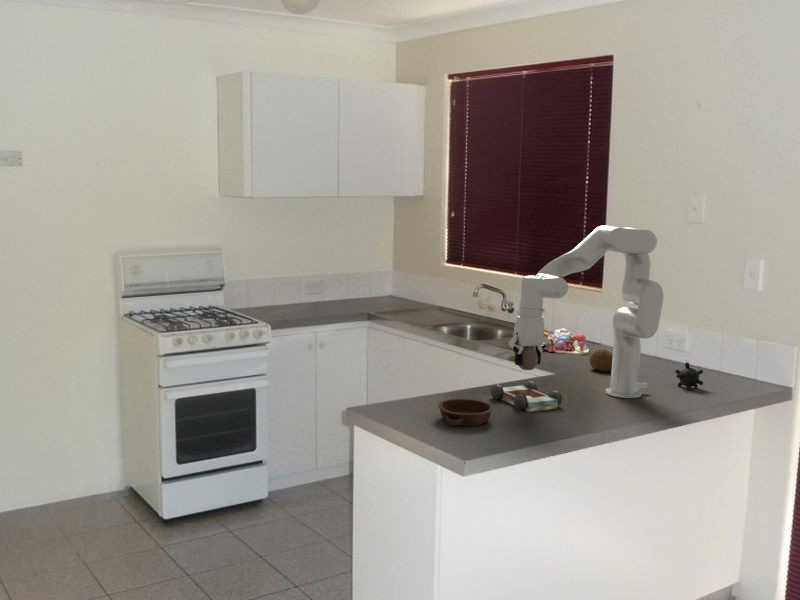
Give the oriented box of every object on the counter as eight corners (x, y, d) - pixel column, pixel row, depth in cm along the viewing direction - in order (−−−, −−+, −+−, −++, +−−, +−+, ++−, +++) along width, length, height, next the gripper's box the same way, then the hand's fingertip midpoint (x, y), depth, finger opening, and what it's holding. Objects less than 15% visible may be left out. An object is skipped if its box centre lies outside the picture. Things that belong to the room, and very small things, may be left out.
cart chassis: (527, 393, 310) (528, 379, 309) (562, 407, 292) (563, 393, 291) (489, 397, 302) (490, 383, 302) (523, 412, 285) (524, 397, 284)
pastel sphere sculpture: (535, 353, 382) (537, 332, 380) (530, 342, 405) (531, 323, 403) (593, 355, 381) (594, 335, 379) (584, 345, 404) (585, 325, 403)
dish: (423, 424, 268) (424, 408, 267) (456, 408, 287) (456, 393, 286) (475, 434, 260) (475, 418, 259) (504, 417, 278) (505, 402, 278)
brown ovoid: (521, 365, 300) (523, 340, 299) (540, 368, 297) (542, 343, 295) (513, 369, 294) (515, 343, 293) (532, 372, 291) (534, 346, 290)
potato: (611, 375, 343) (613, 353, 342) (584, 370, 351) (586, 348, 349) (621, 372, 349) (623, 351, 348) (594, 367, 357) (596, 346, 356)
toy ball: (694, 386, 317) (667, 373, 324) (696, 400, 325) (669, 387, 332) (709, 366, 320) (681, 353, 327) (710, 381, 328) (683, 368, 335)
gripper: (544, 310, 300) (541, 360, 303) (503, 311, 292) (499, 363, 295) (558, 313, 293) (554, 365, 296) (516, 315, 285) (512, 368, 288)
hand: (527, 363), depth 295 cm, fingers closed on brown ovoid, 7 cm apart
